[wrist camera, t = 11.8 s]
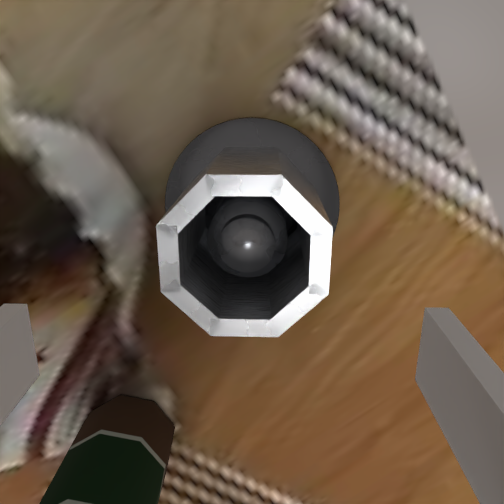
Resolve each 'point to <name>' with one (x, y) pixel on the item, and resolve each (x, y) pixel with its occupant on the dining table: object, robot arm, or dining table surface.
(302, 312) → the sleeve
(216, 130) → the duct stub
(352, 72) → the dining table surface
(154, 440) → the beer bottle
